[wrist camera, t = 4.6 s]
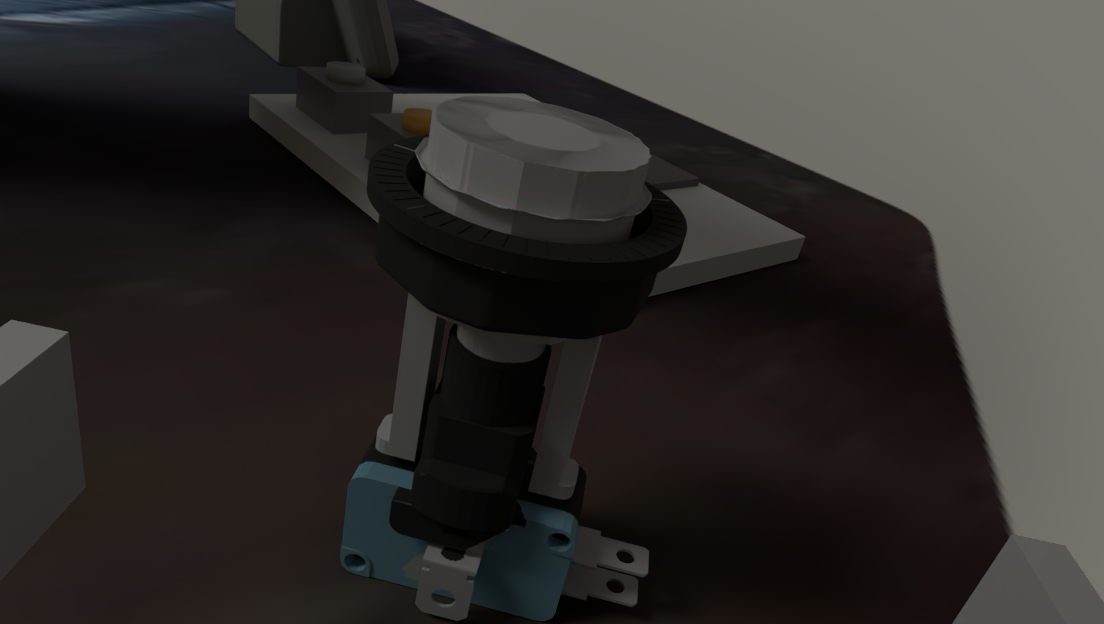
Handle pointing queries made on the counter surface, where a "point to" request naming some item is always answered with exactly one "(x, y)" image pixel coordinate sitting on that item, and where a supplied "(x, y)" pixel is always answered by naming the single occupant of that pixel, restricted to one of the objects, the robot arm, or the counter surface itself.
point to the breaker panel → (384, 117)
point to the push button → (502, 351)
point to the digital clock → (321, 32)
